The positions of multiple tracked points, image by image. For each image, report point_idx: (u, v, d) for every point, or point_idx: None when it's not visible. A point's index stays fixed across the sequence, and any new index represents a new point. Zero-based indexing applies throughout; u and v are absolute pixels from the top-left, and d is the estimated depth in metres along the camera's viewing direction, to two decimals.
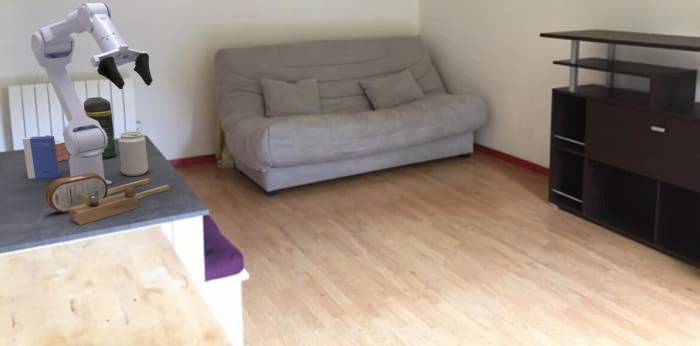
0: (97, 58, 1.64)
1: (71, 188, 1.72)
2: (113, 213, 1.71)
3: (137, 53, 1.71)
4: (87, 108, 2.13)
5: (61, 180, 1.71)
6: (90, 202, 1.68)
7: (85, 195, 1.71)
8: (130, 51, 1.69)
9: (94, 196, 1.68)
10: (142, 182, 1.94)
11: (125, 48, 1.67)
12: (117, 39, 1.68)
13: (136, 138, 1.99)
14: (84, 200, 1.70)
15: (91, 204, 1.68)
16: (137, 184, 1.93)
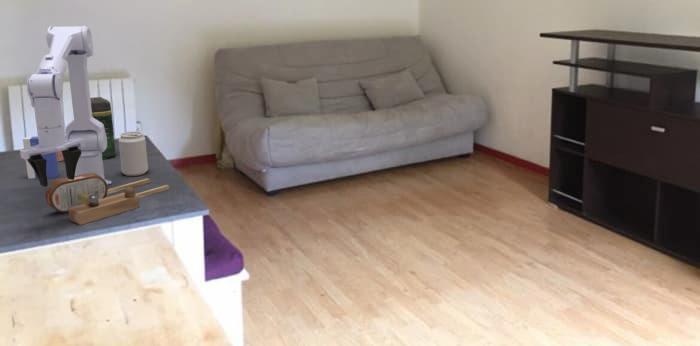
0: (27, 155, 1.56)
1: (71, 188, 1.72)
2: (113, 213, 1.71)
3: None
4: None
5: (61, 180, 1.71)
6: (90, 202, 1.68)
7: (85, 195, 1.71)
8: None
9: (94, 196, 1.68)
10: (142, 182, 1.94)
11: None
12: (57, 134, 1.59)
13: (136, 138, 1.99)
14: (84, 200, 1.70)
15: (91, 204, 1.68)
16: (137, 184, 1.93)
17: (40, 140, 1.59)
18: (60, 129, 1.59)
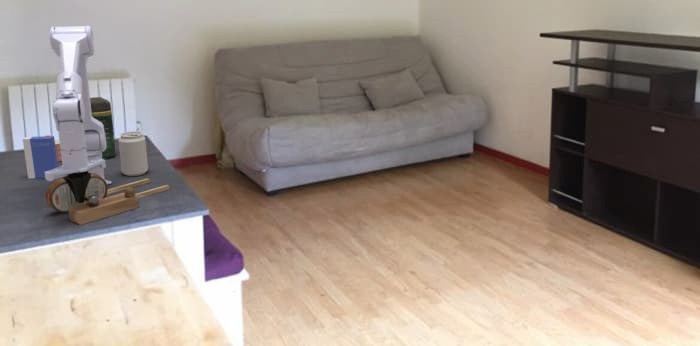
0: (52, 177, 1.62)
1: None
2: (113, 213, 1.71)
3: None
4: None
5: (61, 180, 1.71)
6: (90, 202, 1.68)
7: (85, 195, 1.71)
8: None
9: (94, 196, 1.68)
10: (142, 182, 1.94)
11: None
12: (80, 157, 1.64)
13: (136, 138, 1.99)
14: (84, 200, 1.70)
15: (91, 204, 1.68)
16: (137, 184, 1.93)
17: (64, 162, 1.64)
18: (83, 151, 1.65)
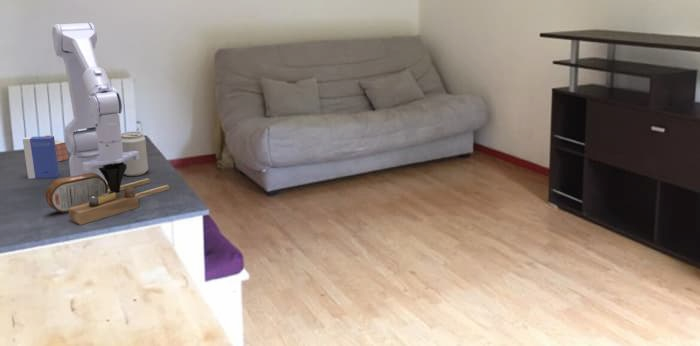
0: (90, 167, 1.69)
1: (71, 188, 1.72)
2: (113, 213, 1.71)
3: None
4: None
5: (61, 180, 1.71)
6: None
7: (105, 194, 1.71)
8: None
9: (91, 196, 1.68)
10: (142, 182, 1.94)
11: None
12: (116, 148, 1.71)
13: (136, 138, 1.99)
14: None
15: None
16: (137, 184, 1.93)
17: (100, 153, 1.71)
18: (119, 143, 1.72)
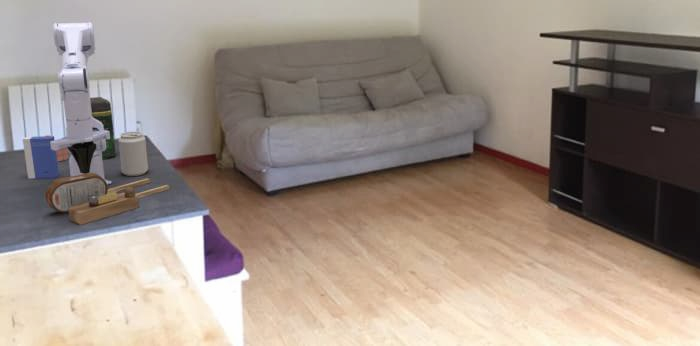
0: (57, 146, 1.63)
1: (71, 188, 1.72)
2: (113, 213, 1.71)
3: None
4: None
5: (61, 180, 1.71)
6: None
7: (106, 194, 1.71)
8: (93, 139, 1.69)
9: (91, 196, 1.68)
10: (142, 182, 1.94)
11: None
12: (85, 127, 1.66)
13: (136, 138, 1.99)
14: None
15: None
16: (137, 184, 1.93)
17: (69, 132, 1.66)
18: (88, 121, 1.66)
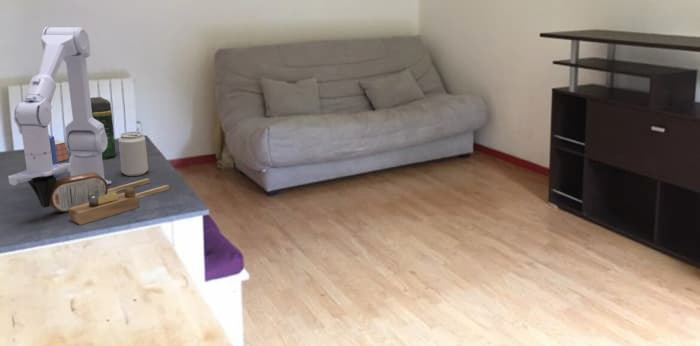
0: (15, 181, 1.61)
1: (72, 188, 1.72)
2: (113, 213, 1.71)
3: None
4: None
5: (61, 180, 1.71)
6: None
7: (107, 195, 1.71)
8: None
9: (91, 196, 1.68)
10: (142, 182, 1.94)
11: None
12: (44, 161, 1.64)
13: (136, 138, 1.99)
14: None
15: None
16: (137, 184, 1.93)
17: (28, 166, 1.63)
18: (47, 155, 1.64)
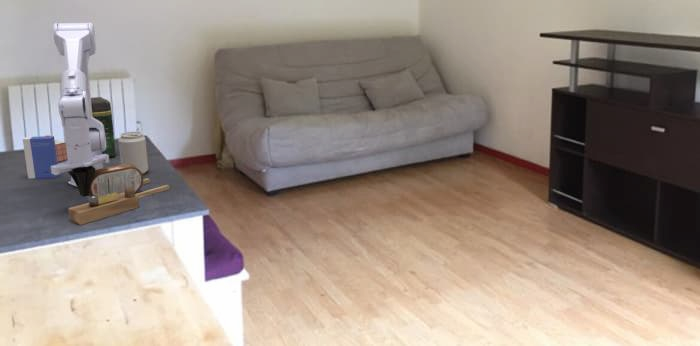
0: (58, 171, 1.69)
1: (109, 178, 1.80)
2: (113, 213, 1.71)
3: None
4: None
5: (99, 170, 1.79)
6: None
7: (107, 195, 1.71)
8: None
9: (91, 196, 1.68)
10: None
11: None
12: (85, 152, 1.71)
13: (136, 138, 1.99)
14: None
15: None
16: None
17: (69, 157, 1.71)
18: (87, 146, 1.72)
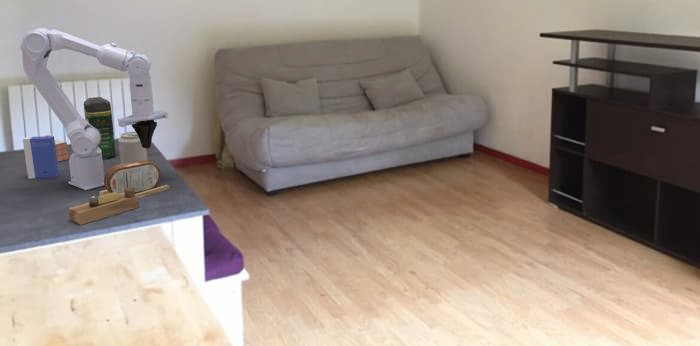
0: (124, 123, 1.86)
1: (127, 174, 1.83)
2: (113, 213, 1.71)
3: None
4: (87, 108, 2.13)
5: (118, 166, 1.82)
6: None
7: (107, 195, 1.71)
8: (154, 117, 1.91)
9: (91, 196, 1.68)
10: None
11: (151, 119, 1.89)
12: (148, 106, 1.88)
13: (136, 138, 1.99)
14: None
15: None
16: None
17: (134, 111, 1.88)
18: (150, 102, 1.89)
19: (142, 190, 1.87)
